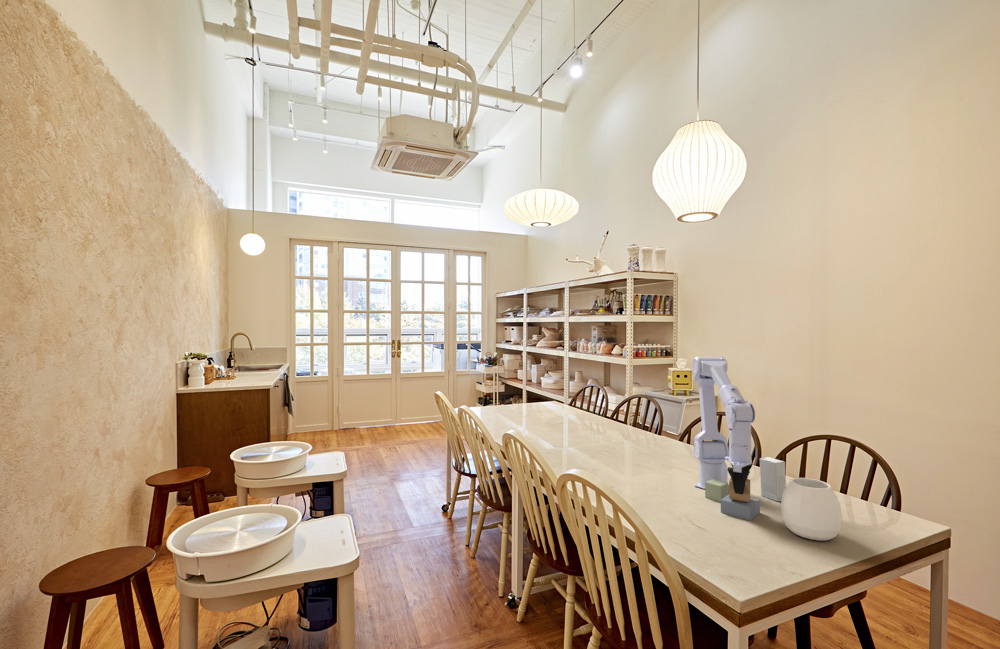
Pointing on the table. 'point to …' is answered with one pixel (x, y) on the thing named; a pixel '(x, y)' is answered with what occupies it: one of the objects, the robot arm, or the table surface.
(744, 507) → the slate block
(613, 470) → the table surface
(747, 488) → the walnut cube
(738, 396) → the robot arm
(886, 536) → the table surface
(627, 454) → the table surface
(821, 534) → the white round vase
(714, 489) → the olive cube
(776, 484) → the skincare box
